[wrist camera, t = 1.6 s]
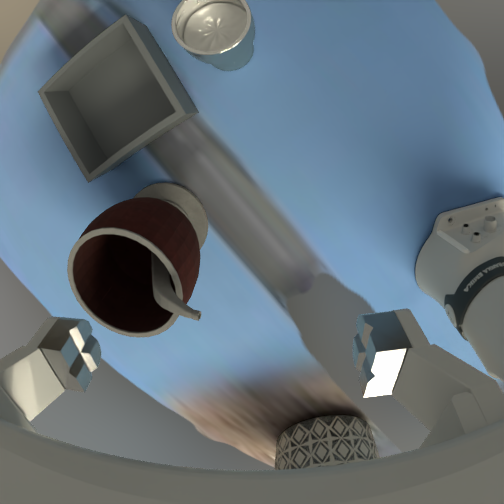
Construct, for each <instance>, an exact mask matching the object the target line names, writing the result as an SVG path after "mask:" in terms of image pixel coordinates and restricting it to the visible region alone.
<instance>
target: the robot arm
mask: <svg viewBox="0 0 504 504" xmlns="http://www.w3.org/2000/svg"><path fill="white" fill-rule="evenodd" d="M449 218H450V220H449ZM448 220H449V221H448ZM415 275H416V281H417V284H418V286H419V288H420V289H421V290H422V291H423V292H424V293H425V294H427V295H429V296H430V297H432V298H433V299H435V300H436V301H437V302H438V303H439V304H440V305H441V306H442V307H443V308H444V309H445V311H446V314H447V316H448V318H449V319H450V321H451V323H452V324H453V326H454V327H455V328H456V329H457V330H458V332H459V333H460V334H461V336H462V337H463V338H464V339H465V340H467V341H469V343H470V344H471V346H472V348H473V349H474V351H475V352H476V354H477V356H478V357H479V359H480V360H481V362H482V364H483V365H484V367H485V369H486V371H487V372H488V374H489V375H490V376H492V377H494V378H499V379H500V380H501V381H503V382H504V198H502V197H498V198H494V199H490V200H487V201H483V202H480V203H476V204H472V205H469V206H465V207H462V208H458V209H454V210H451V211H447V212H443V213H441V214H439V215H438V217H437V218H436V221H435V224H434V227H433V231H432V233H431V235H430V237H429V238H428V239H427V241H426V242H425V244H424V245H423V247H422V249H421V251H420V253H419V256H418V259H417V262H416V269H415ZM356 326H357V330H358V334H357V335H356V336H355V337H354V342H353V359H354V364H355V368H356V369H357V370H359V371H360V372H361V373H360V377H359V382H360V386H361V389H362V393H363V396H364V397H372V396H379V395H386V394H392V396H393V397H394V398H395V399H396V400H397V401H398V402H399V403H401V404H402V405H403V406H404V407H405V408H406V409H407V410H408V411H409V412H410V413H411V414H412V415H413V416H415V417H416V418H417V419H418V420H419V421H420V422H421V423H422V424H423V425H424V426H425V427H426V428H427V429H429V430H430V431H431V432H430V434H429V435H428V436H427V438H426V439H425V441H424V442H423V443H422V445H421V446H420V448H419V449H416V450H412V451H408V452H404V453H400V454H395V455H391V456H386V457H381V458H376V459H371V460H366V461H360V462H354V463H347V464H340V465H332V466H323V467H314V468H302V469H285V470H221V469H220V470H219V469H203V468H192V467H182V466H173V465H166V464H158V463H152V462H145V461H140V460H134V459H128V458H124V457H119V456H114V455H110V454H106V453H101V452H97V451H93V450H89V449H86V448H82V447H79V446H75V445H72V444H68V443H65V442H62V441H59V440H56V439H53V438H50V437H47V436H44V435H41V434H38V433H37V430H36V428H35V427H34V426H33V425H32V424H31V423H30V421H31V420H32V419H33V418H35V417H36V416H37V415H38V414H39V413H40V412H41V411H42V410H43V409H45V408H46V407H47V406H48V405H49V404H50V403H51V402H52V401H54V400H55V399H56V398H57V397H58V396H59V395H60V394H62V393H63V392H64V391H65V389H68V390H74V391H79V392H85V391H86V389H87V387H88V385H89V383H90V381H91V379H92V375H91V372H92V371H93V370H94V369H96V368H97V367H98V365H99V363H100V359H101V349H100V345H99V343H98V341H97V339H96V338H94V337H93V336H92V335H91V333H92V330H93V329H92V327H91V325H90V323H89V321H87V320H85V319H75V318H65V317H62V318H61V317H53V316H52V317H49V318H47V319H46V321H45V322H44V323H43V324H42V326H41V327H40V328H39V329H38V331H37V332H36V333H35V335H34V336H33V337H32V339H31V340H30V341H29V343H28V344H27V345H26V346H22V347H20V348H18V349H17V350H15V351H13V352H12V353H10V354H8V355H6V356H5V357H3V358H2V359H0V504H504V394H503V392H502V390H501V389H500V387H499V385H498V383H497V382H496V380H494V379H492V378H491V377H489V376H487V375H486V374H484V373H482V372H481V371H479V370H477V369H476V368H474V367H472V366H471V365H469V364H467V363H466V362H464V361H462V360H461V359H459V358H457V357H455V356H454V355H452V354H450V353H449V352H447V351H445V350H444V349H442V348H440V347H439V346H437V345H435V344H433V345H430V343H429V342H428V340H427V338H426V336H425V335H424V333H423V331H422V329H421V328H420V326H419V324H418V322H417V321H416V319H415V317H414V316H413V314H412V312H411V311H410V310H409V309H400V310H393V311H388V312H379V313H370V314H360V315H359V316H358V318H357V324H356Z"/></svg>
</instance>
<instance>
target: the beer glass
mask: <svg viewBox="0 0 504 504" xmlns="http://www.w3.org/2000/svg"><path fill="white" fill-rule="evenodd" d="M171 26H172V32H173V35H174V37H175V39H176V41H177V42H178V43H179V44H180V45H181V46H182V47H183V48H184V49H185V50H186V51H187V52H188V53H189V54H190V55H191V56H192V57H194V58H195V59H197V60H199V61H201V62H204V63H207V64H211V65H212V66H214V67H215V68H217V69H219V70H222V71H234V70H238V69H240V68H242V67H244V66H245V65H246V64H247V63H248V62H249V61H250V60H251V58H252V56H253V52H254V45H253V42H254V38H255V23H254V19H253V16H252V13H251V11H250V8H249V6H248V4H247V2H246V1H245V0H182V1H181V2H180V4H179V5H178V6H177V8H176V10H175V11H174V14H173V17H172V24H171Z"/></svg>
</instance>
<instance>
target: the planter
mask: <svg viewBox="0 0 504 504" xmlns="http://www.w3.org/2000/svg"><path fill="white" fill-rule="evenodd" d="M376 458H380V457H379V454H378V450H377V447H376V444H375V441H374V438H373V434H372V431H371V428H370V426H369V424H368V423H367V422H366V421H364V420H363V419H360V418H358V417H354V416H348V415H330V416H322V417H317V418H312V419H309V420H305V421H302V422H300V423H297V424H295V425H293V426H291V427H289V428H288V429H286V430H285V431H284V432H283V433H282V434H281V435H280V436H279V438H278V440H277V443H276V457H275V470H285V469H302V468H314V467H323V466H332V465H340V464H347V463H354V462H360V461H366V460H371V459H376Z"/></svg>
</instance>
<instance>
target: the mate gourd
mask: <svg viewBox="0 0 504 504" xmlns="http://www.w3.org/2000/svg"><path fill="white" fill-rule="evenodd" d="M207 232H208V219H207V215H206V211H205V209H204V207H203V205H202V203H201V202H200V201H199V199H198V198H197V197H196V196H195V195H194V194H193V193H192V192H191V191H189V190H188V189H186V188H184V187H182V186H180V185H177V184H174V183H167V182H164V183H156V184H152V185H149V186H147V187H145V188H144V189H142V190H141V191H140V192H139V193H138V194H136V196H135V197H134V198H133V199H129V200H126V201H123V202H120V203H118V204H115V205H114V206H112V207H110V208H108V209H106V210H105V211H104V212H103V213H101V214H100V215H99V216H98V217H96V218H95V219H94V220H93V221H92V222H91V223H90V224H89V225H88V227H87V228H86V229H85V231H84V232H83V233H82V235H81V236H80V238H79V240H78V241H77V242H76V243H75V245H74V246H73V248H72V250H71V252H70V255H69V259H68V269H67V271H68V278H69V282H70V286H71V289H72V291H73V293H74V295H75V297H76V299H77V301H78V302H79V304H80V305H81V306H82V308H83V309H84V310H85V311H86V312H87V313H88V314H89V315H90V316H91V317H92V318H93V319H94V320H95V321H97V322H98V323H99V324H101V325H102V326H104V327H106V328H107V329H109V330H111V331H114V332H116V333H118V334H122V335H126V336H130V337H150V336H154V335H158V334H160V333H162V332H164V331H166V330H167V329H168V328H169V327H171V326H172V325H173V324H174V322H175V321H176V319H177V318H178V316H179V315H181V316H184V317H187V318H192V319H194V320H198V321H199V319H200V317H201V312H200V311H197V310H193V309H192V308H190V307H189V306H188V305H186V304H187V302H188V301H189V299H190V298H191V295H192V292H193V290H194V287H195V284H196V281H197V278H198V274H199V266H200V249H201V247H202V246H203V244H204V242H205V239H206V236H207Z"/></svg>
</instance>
